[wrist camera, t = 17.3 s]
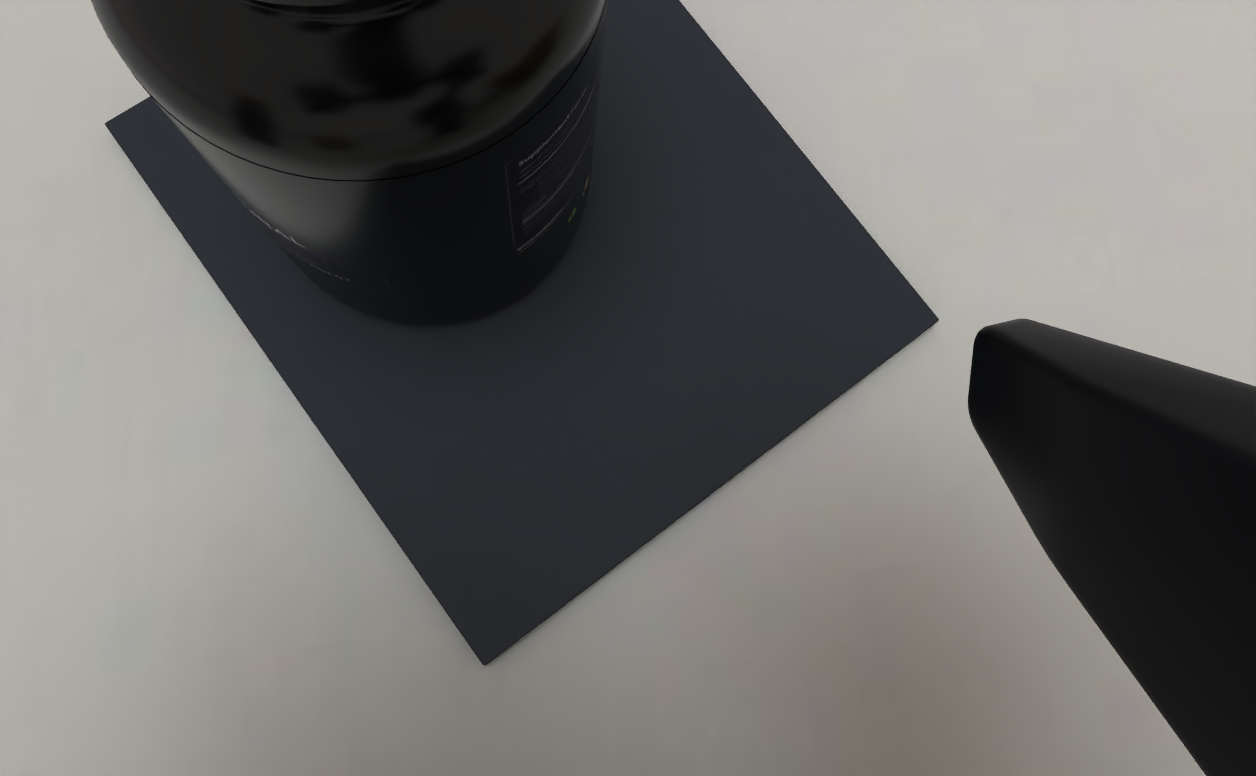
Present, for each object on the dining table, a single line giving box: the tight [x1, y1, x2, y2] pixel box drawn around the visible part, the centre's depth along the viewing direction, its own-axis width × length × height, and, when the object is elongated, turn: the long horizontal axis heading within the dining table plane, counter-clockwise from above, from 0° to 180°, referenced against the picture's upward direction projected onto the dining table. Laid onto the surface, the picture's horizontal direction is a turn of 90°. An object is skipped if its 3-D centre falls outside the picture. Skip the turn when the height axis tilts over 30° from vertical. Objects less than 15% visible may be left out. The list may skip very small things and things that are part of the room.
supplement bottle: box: [91, 0, 608, 324], centre depth 14 cm, size 7×7×12 cm
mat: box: [105, 0, 939, 666], centre depth 20 cm, size 14×12×1 cm
